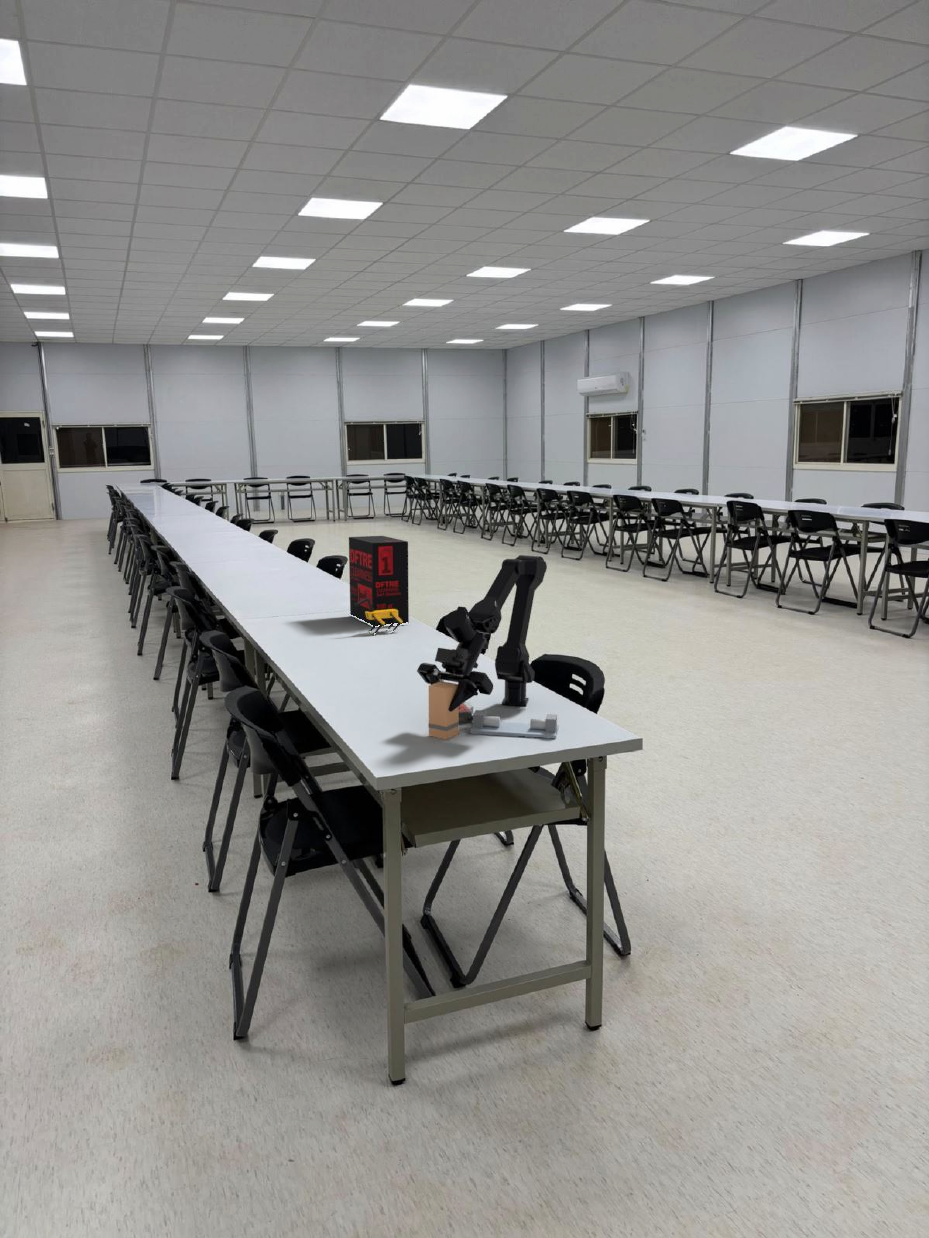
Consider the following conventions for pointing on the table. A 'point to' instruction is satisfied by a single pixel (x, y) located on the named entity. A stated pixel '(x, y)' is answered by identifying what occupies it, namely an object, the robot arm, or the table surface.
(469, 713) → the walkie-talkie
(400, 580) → the product box
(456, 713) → the tan rectangular block
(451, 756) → the table surface
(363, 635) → the table surface
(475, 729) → the grey holder base
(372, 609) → the robot dog
